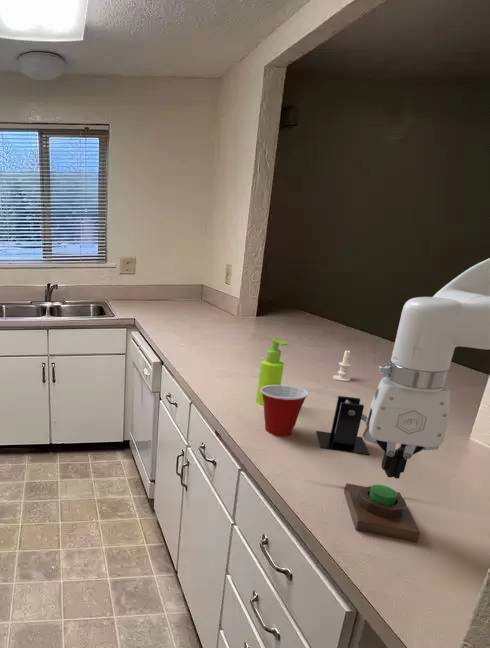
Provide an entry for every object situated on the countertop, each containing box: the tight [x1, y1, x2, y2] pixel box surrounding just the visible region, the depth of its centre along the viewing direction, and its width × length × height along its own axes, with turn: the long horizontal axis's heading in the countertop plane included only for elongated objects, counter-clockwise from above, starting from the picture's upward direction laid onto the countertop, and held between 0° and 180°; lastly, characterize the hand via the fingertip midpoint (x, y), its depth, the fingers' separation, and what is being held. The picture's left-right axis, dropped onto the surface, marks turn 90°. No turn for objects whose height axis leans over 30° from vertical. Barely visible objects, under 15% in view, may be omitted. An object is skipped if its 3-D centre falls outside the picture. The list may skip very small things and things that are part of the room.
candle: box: [332, 349, 352, 383], centre depth 145 cm, size 5×5×10 cm
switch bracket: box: [315, 395, 371, 457], centre depth 101 cm, size 10×9×12 cm
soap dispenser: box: [255, 337, 289, 407], centre depth 123 cm, size 6×7×20 cm
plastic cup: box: [260, 384, 309, 437], centre depth 108 cm, size 11×11×12 cm
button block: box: [343, 482, 421, 544], centre depth 78 cm, size 12×9×4 cm
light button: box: [369, 484, 398, 505], centre depth 77 cm, size 4×4×2 cm
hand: (391, 473), depth 76 cm, fingers closed
